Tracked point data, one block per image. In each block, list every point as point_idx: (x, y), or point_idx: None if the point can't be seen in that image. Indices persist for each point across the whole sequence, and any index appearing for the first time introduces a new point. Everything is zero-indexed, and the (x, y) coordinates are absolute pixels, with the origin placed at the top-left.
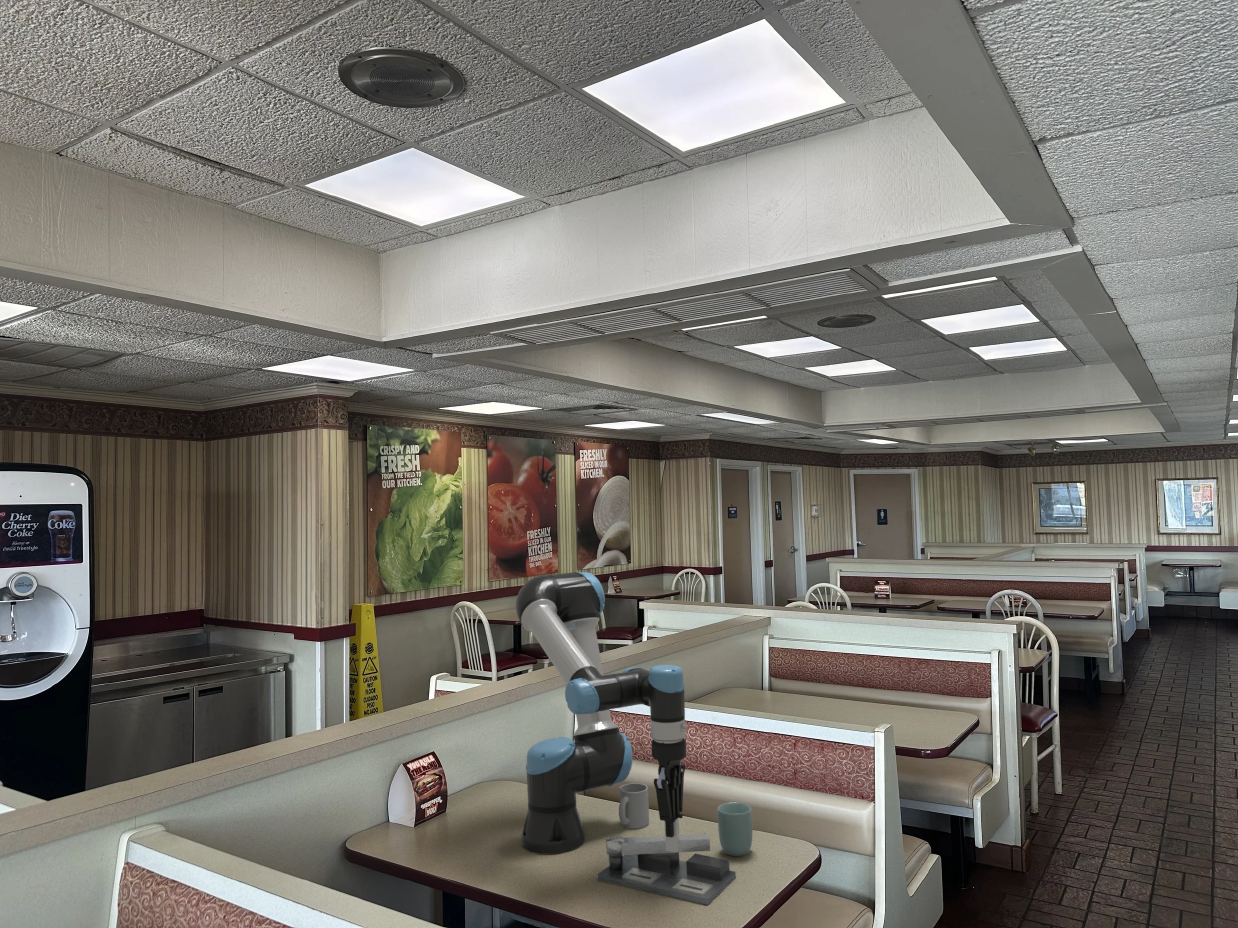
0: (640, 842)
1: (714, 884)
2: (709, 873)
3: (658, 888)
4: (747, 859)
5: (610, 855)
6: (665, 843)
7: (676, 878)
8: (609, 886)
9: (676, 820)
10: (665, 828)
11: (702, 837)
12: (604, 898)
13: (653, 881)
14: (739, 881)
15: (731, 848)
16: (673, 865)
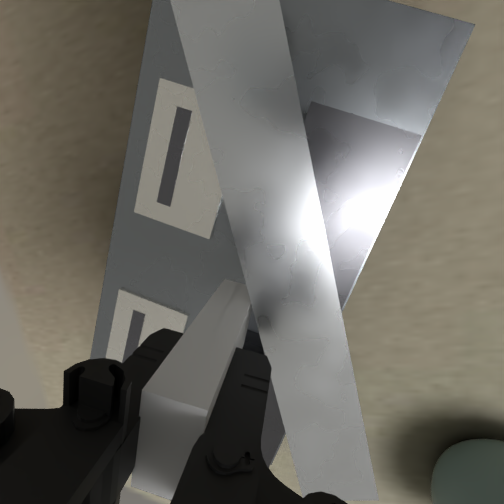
0: (207, 131)
1: None
2: None
3: (111, 242)
4: (413, 490)
5: None
6: (214, 293)
7: (190, 294)
8: (132, 40)
9: (153, 486)
10: (180, 343)
11: (323, 471)
12: (44, 54)
13: (153, 217)
14: None
15: (435, 485)
16: None
